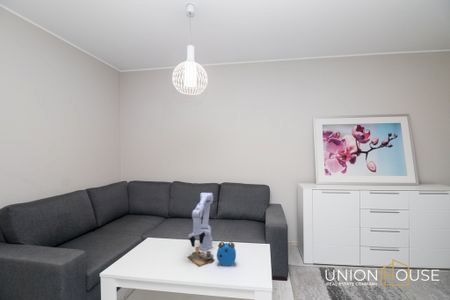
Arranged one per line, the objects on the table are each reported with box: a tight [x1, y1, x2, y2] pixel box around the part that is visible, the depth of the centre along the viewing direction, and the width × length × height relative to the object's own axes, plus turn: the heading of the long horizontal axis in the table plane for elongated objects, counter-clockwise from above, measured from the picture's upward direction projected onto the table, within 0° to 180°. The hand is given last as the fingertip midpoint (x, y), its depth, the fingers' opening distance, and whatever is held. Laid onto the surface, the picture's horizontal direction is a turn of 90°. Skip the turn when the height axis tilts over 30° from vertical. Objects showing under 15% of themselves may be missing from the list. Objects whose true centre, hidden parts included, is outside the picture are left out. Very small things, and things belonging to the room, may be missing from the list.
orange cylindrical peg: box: [194, 246, 200, 255], centre depth 162 cm, size 2×2×7 cm
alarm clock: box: [216, 241, 237, 267], centre depth 154 cm, size 13×6×15 cm, turn 88°
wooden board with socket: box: [187, 250, 215, 268], centre depth 160 cm, size 13×17×6 cm
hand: (197, 244), depth 162 cm, fingers open, 7 cm apart
